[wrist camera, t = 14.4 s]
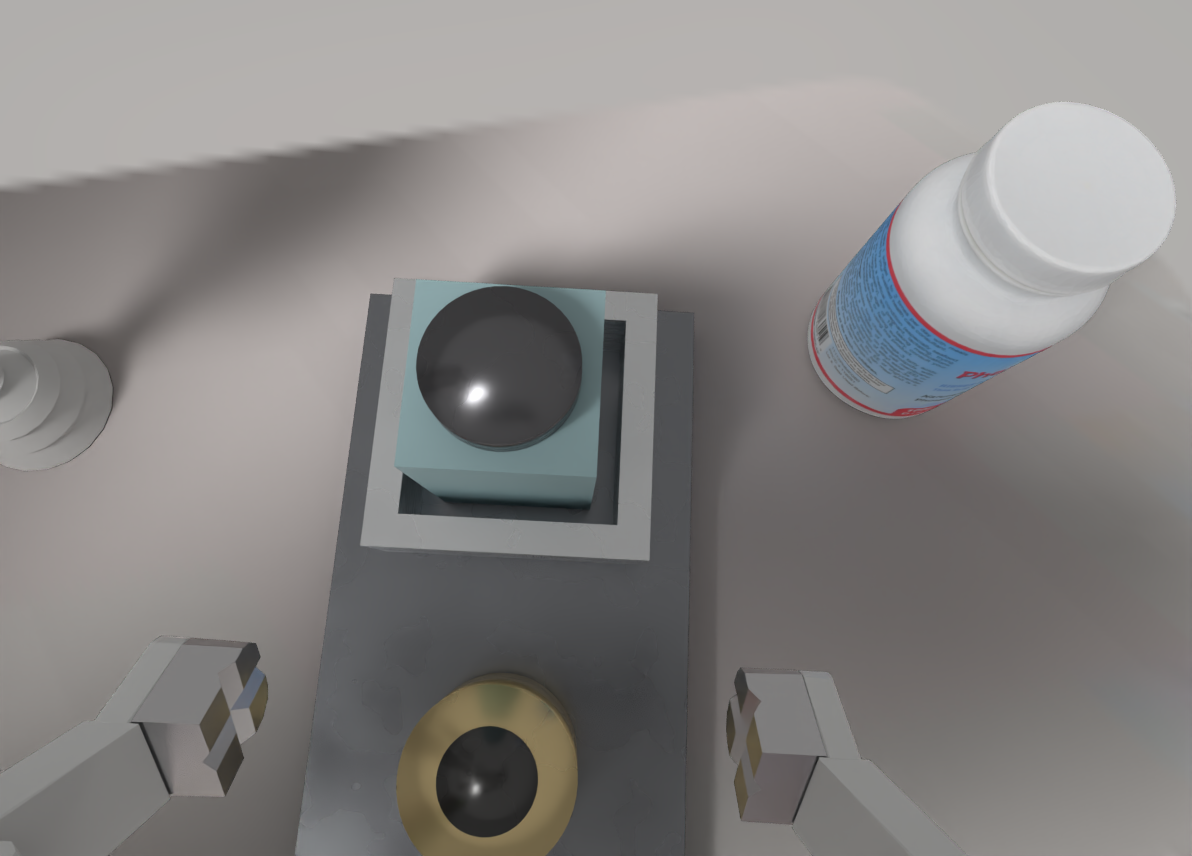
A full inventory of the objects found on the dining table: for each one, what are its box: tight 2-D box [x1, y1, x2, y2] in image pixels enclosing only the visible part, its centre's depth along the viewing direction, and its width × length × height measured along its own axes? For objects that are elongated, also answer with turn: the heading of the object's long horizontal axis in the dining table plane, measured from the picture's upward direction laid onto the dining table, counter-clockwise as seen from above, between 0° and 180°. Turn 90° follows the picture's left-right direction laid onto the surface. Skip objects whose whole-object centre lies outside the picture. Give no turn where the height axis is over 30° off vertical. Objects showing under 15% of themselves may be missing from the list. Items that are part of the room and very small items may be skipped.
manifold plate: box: [295, 278, 694, 856], centre depth 23 cm, size 12×20×5 cm, turn 177°
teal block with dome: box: [394, 279, 606, 510], centre depth 21 cm, size 5×5×8 cm
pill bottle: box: [808, 102, 1176, 419], centre depth 22 cm, size 6×6×11 cm
